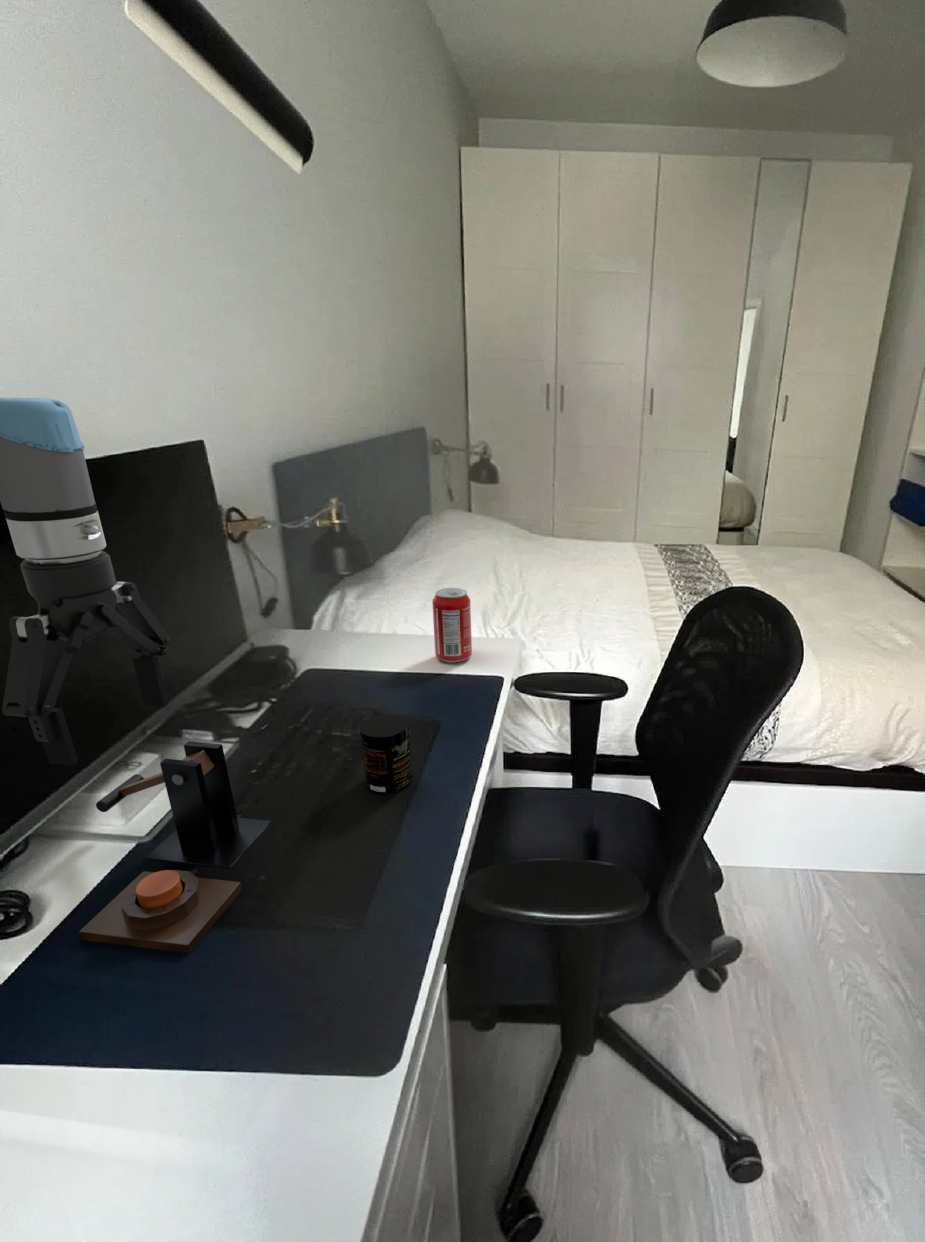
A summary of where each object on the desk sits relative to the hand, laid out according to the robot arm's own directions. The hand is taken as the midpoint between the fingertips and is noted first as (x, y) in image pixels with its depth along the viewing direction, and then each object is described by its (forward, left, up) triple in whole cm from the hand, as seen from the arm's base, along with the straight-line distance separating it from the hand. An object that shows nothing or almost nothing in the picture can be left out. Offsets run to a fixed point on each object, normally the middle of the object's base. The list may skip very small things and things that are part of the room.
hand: (114, 731), depth 76 cm
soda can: (+20, +65, -17) cm, 70 cm away
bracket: (+8, +1, -17) cm, 19 cm away
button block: (+11, -11, -17) cm, 23 cm away
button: (+11, -11, -13) cm, 20 cm away
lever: (+4, +1, -8) cm, 9 cm away
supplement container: (+25, +17, -17) cm, 35 cm away
